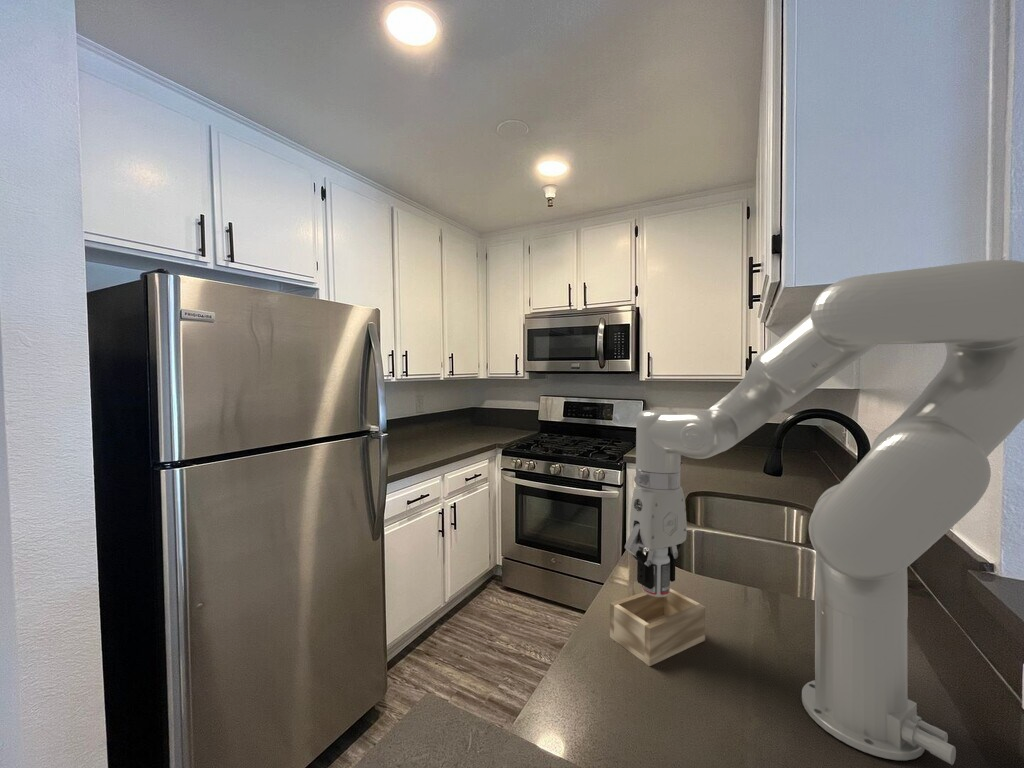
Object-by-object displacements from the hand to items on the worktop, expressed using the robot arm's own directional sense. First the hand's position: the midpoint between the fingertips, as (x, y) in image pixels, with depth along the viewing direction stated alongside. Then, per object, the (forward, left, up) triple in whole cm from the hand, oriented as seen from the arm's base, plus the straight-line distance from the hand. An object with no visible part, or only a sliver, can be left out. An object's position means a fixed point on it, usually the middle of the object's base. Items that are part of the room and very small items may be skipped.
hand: (656, 580), depth 74 cm
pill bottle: (0, 0, -2) cm, 2 cm away
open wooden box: (0, 0, -10) cm, 10 cm away
